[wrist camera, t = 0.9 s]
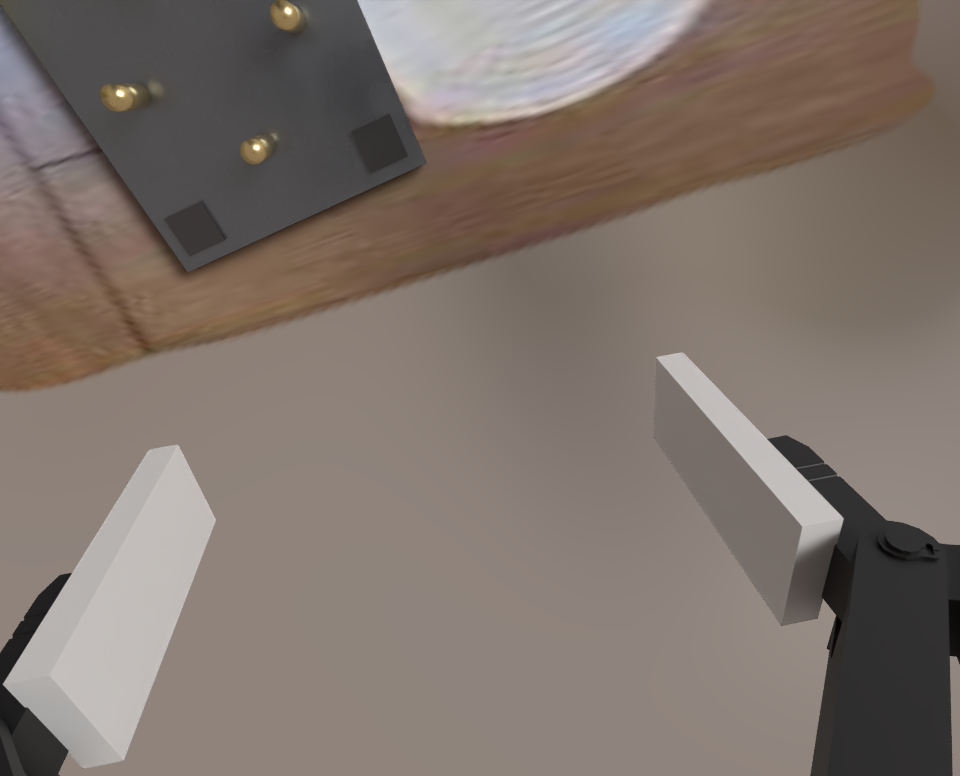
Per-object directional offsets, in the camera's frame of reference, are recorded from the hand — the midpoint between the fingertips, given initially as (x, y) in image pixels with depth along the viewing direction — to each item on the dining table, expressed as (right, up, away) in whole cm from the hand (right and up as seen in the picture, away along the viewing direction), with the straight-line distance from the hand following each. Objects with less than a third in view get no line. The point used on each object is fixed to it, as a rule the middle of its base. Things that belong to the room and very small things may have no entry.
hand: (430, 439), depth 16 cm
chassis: (-13, +19, +15) cm, 28 cm away
